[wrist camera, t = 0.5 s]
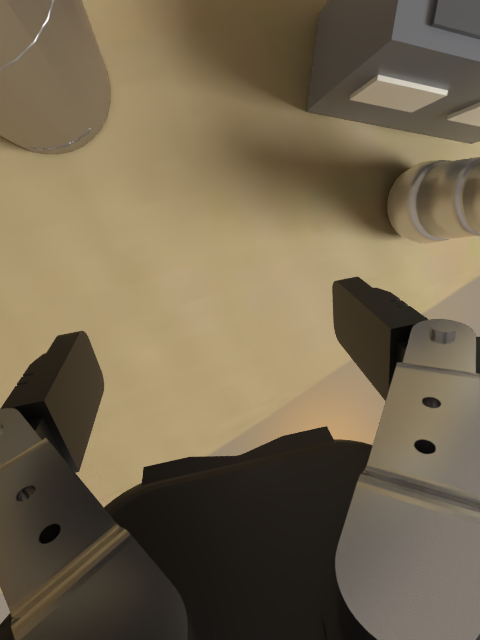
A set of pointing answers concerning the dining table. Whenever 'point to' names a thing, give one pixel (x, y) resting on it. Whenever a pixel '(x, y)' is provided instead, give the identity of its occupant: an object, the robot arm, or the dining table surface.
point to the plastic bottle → (437, 201)
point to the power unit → (400, 65)
